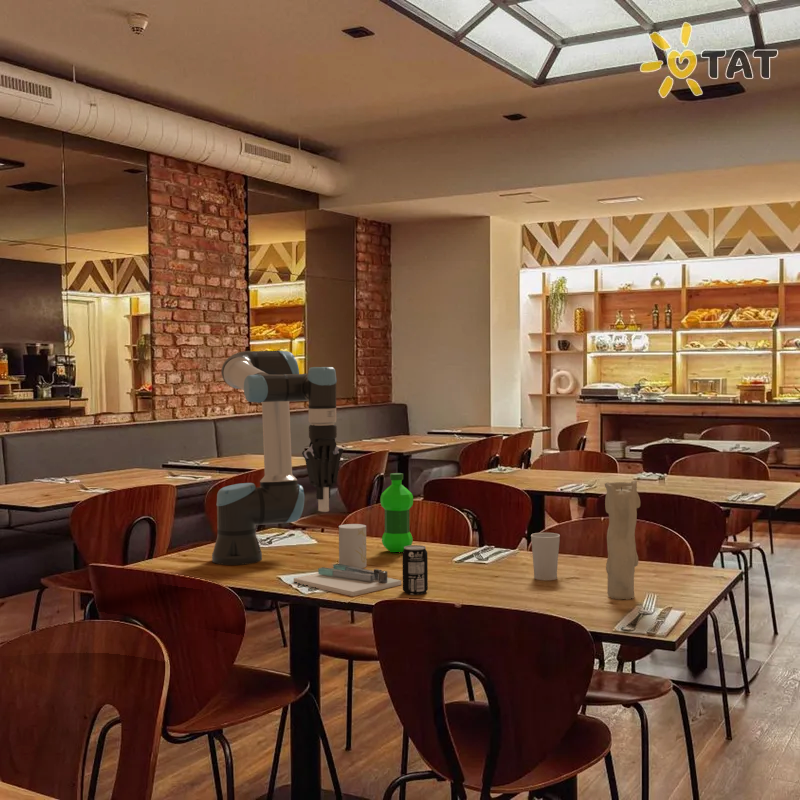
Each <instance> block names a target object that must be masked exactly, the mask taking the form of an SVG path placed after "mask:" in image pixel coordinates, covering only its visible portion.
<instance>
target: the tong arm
mask: <svg viewBox="0 0 800 800" xmlns="http://www.w3.org/2000/svg"><path fill="white" fill-rule="evenodd" d="M317 573H318V574H320V575H327V576H335V577H342V578H349V579H355V580H362V581H369V582H371V581H374V580H375V578H374V574H367V573H360V572H352V571H345V570H338V569H333V567H332V568H330V567H319V568H318V572H317Z"/></svg>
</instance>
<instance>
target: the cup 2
mask: <svg viewBox="0 0 800 800" xmlns="http://www.w3.org/2000/svg"><path fill="white" fill-rule="evenodd" d="M530 537H531V538H530V541H531V542H530V543H531V550H532V551H531V552H532V553H531V554H532V564H533V573H534V574H533V578H534V579H535V580H539V581H554V580H557V579H558V565H559V564H558V563H559V548H560V539H561V538H560V537H561V535H560V534H559V533H556V532H555V533H554V532H535V533H532V534H531V535H530Z"/></svg>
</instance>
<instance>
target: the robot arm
mask: <svg viewBox="0 0 800 800" xmlns="http://www.w3.org/2000/svg"><path fill="white" fill-rule="evenodd" d="M298 364H299V363H298V361H297V359H296V357H295V355H294V354H293V353H292V352H290V351H285V350H244V351H238V352H236V353H234V354H232V355H231V356H229V357H227V359H225V361H224V362H223V363H222V366H221V371H220V372H221V377H222V380H223V381H224V382H225V383H226V384H227V386H229V387H231V388H233V389H238V390H239V389H241V390H242V391H243V394H244V398H245V400H246V401H247V402H249V403H257V404H260V403H261V410H262V413H261V414H262V415H261V416H262V434H263V435H262V442H263V463H264V465H263V467H264V468H263V469H264V470H263V471H264V476H263V477H262V478H261V479H260V480H259V486H257V487H256V484H255V483H254V482H244V483H242V482H241V483H235V484H231V485H226V486H223V487H222V488H220V489H219V490H218V491H217V494H216V504H215V505H216V518H217V519H216V520H217V522H216V523H217V526H216V527H217V537H216V540H215V544H214V548H213V551H212V554H211V558H212V559H211V560H212V563H214V564H217V565H223V566H225V565H227V566H236V565H237V566H238V565H249V564H255V563H259V562H260V561H262V560H263V552H262V550H261V546H260V543H259V540H258V537H257V533H256V529H257V528H256V527H257V526H260V525H275V524H276V525H277V524H284V525H285V524H287V523H294V522H297V521H299V520H300V518H301V516H302V514H303V511H304V507H305V491H304V487H303V485H301V484H299V483H298V479H297V478H296V476H294V475H293V462H292V459H293V458H292V439H291V438H292V435H291V433H292V432H291V415H290V410H291V409H290V402H308V423H309V424H310V425H309V426H308V439H309V441H310V442H309V444H308V448H307V450H303V451H302V453H301V455H302V457H303V458H304V461H305V465H306V466H305V467H306V470H307V475H308V480H309V485H310V486H313V487H314V488H316V490H315V491H316V492H315V493H316V495H315V496H316V499H317V503H318V504H317V506H318V508H317V511H318V512H321V513H326V512H329V511H330V499H331V488H333V487H334V485H335V484H336V483H337V482H338V481H337V480H338V477H339V476H338V474H339V469H340V462H341V457H342V455H343V453H344V449H343V448H341V447H338V445H337V442H336V438H337V435H338V432H337V430H338V429H337V428H338V427H337V425H336V423H337V381H338V379H337V373H336V369H335V368H334V367H333V366H321V367H320V366H313V367H309V368H308V372H307V373H300V370H299V368H300V367H299V365H298Z"/></svg>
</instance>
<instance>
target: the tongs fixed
mask: <svg viewBox="0 0 800 800" xmlns="http://www.w3.org/2000/svg"><path fill="white" fill-rule="evenodd" d="M332 569H338V570H345V571H352V572H360V573H367V574H374V578H375V580H377V581H379V583H387V582H388V578H389V577H388V571H387V570H386V571H385V570H382V569H378V568H375V569H366V568H357V567H352V566H348V565H343V564H339V563H336V564H333V566H332Z"/></svg>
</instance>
